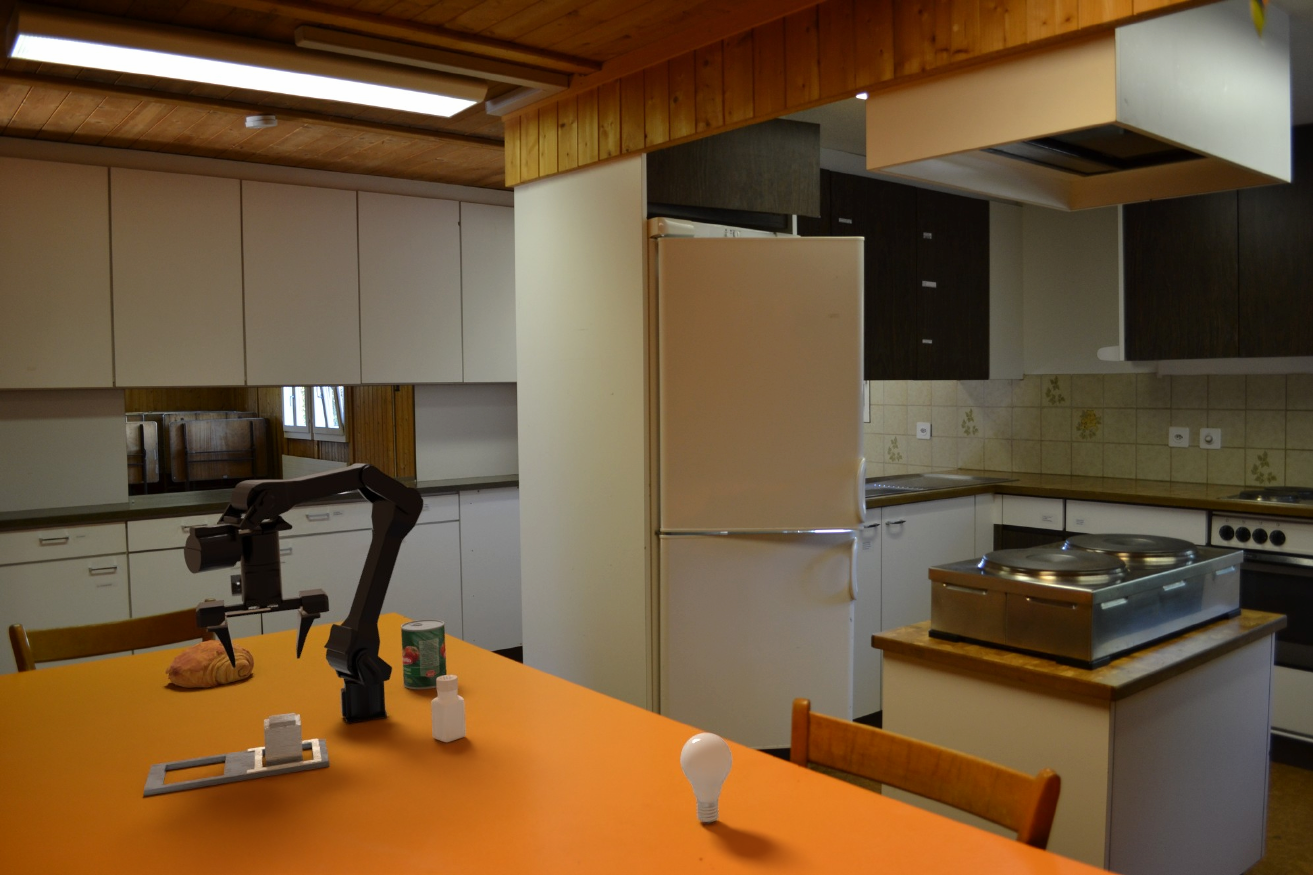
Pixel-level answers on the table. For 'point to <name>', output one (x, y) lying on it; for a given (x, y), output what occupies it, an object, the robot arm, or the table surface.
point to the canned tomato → (423, 653)
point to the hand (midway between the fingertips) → (266, 662)
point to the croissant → (209, 665)
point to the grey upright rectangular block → (283, 739)
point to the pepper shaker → (448, 710)
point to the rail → (234, 768)
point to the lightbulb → (706, 771)
